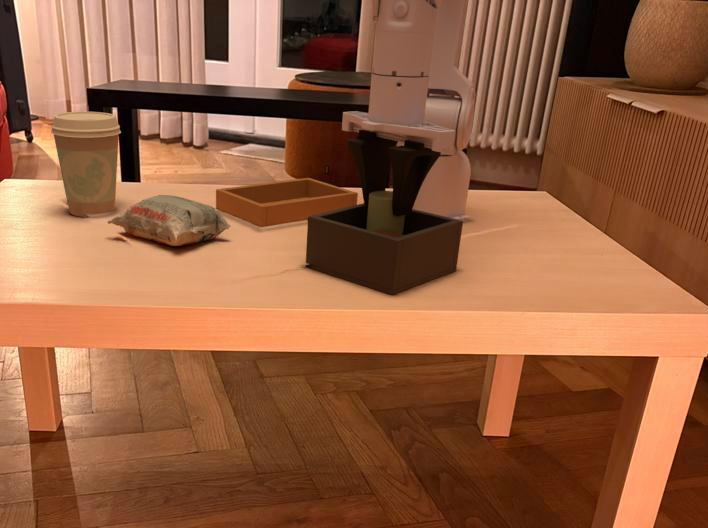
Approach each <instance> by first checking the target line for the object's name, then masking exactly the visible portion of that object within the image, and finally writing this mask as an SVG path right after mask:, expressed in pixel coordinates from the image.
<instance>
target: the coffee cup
mask: <svg viewBox="0 0 708 528" xmlns="http://www.w3.org/2000/svg"><path fill="white" fill-rule="evenodd" d="M120 128H121V126H120V124H119V122H118V119H117V116H116V115H115V114H113V113H108V112H103V111H102V112H101V111H69V112H67V111H66V112H60V113H57V114H55V115H54V116H53V122H52V125H51V132H50V133H51V135H52V134H53V138H54V143H55V149H56V153H57V158H58V162H59V163H58V164H59V168H60V172H61V178H62V183H63V189H64V192H65V193H64V194H65V197H66V203H67V207H68V212H69V214H71V215H72V216H76V217H80V218H90V216H89V215H98V214H99V215H100V214H107V213H110V212H113V211H114V210H115V209H116V197H117V195H116V193H117V174H118V155H119V137H120V136H119V134H121V133H122V131H121V129H120Z"/></svg>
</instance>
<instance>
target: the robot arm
mask: <svg viewBox="0 0 708 528" xmlns="http://www.w3.org/2000/svg"><path fill="white" fill-rule="evenodd" d="M469 1H470V0H372V12H371V16H372V22H373V23H375V29H374V31H375V32H374V42H373V55H372V68H371V76H370V77H371V79H370V91H369V103H368V112H364V111H358V110H355V111H354V110H353V111H343V112H342V121H341V131H343V132H355V133H358V135H356V138H349V139H348V141H347V148H348V149H349V151H350V152H351V155H352V157H353V159H354V162H355V165H356V168H357V171H358V176H359V180H360V186H361V191H362V199H363V203H364V205H365V206H367V207H368V204H369V194H370V193H371V192H375V191H386V187H387V181H388V173H389V169H390V165H391V172H392V191H393V197H392V210H393V215H395V216H403V215H408V214H411V212H412V209H415V210H419V211H423V212H428V213H432V214H436V215H440V216H445V217H449V218H453V219H457V220H464V219H469V218H470V215H467V214H466V208H467V201H468V194H469V187H470V181H471V173H472V172H471V171H472V167H471V163H470V159H469V157H468V155H467V154H466V153H465V152H464V151H463V150H464V149H465V148H466V147H467V146H469V145H468V144H469V143H470V140H471V137H472V136H471V135H472V132H473V131H472V130H473V125H474V117H475V104H476V103H475V102H476V94H477V93H476V90H475V86H474V83H473V82H472V81H471V80H470V79H469V78H468V77H467V76H466V75H465V74H464V73H462V71H460V69H459V68H458V66H459V60H460V55H461V49H462V43H463V37H464V30H465V25H466V20H467V19H466V18H467V13H468V7H469ZM430 94H431V95H430Z"/></svg>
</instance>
